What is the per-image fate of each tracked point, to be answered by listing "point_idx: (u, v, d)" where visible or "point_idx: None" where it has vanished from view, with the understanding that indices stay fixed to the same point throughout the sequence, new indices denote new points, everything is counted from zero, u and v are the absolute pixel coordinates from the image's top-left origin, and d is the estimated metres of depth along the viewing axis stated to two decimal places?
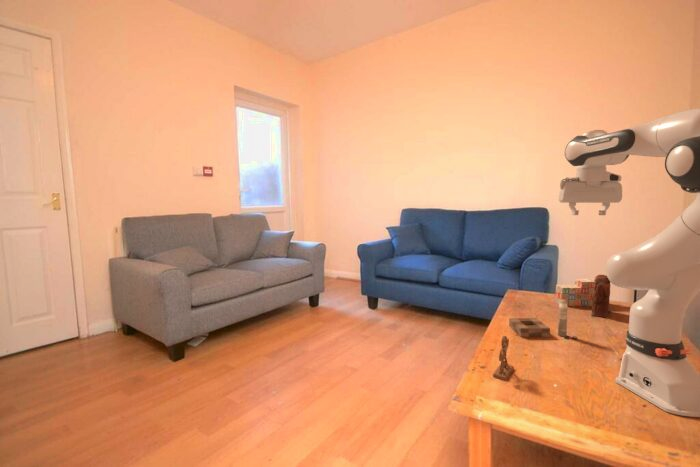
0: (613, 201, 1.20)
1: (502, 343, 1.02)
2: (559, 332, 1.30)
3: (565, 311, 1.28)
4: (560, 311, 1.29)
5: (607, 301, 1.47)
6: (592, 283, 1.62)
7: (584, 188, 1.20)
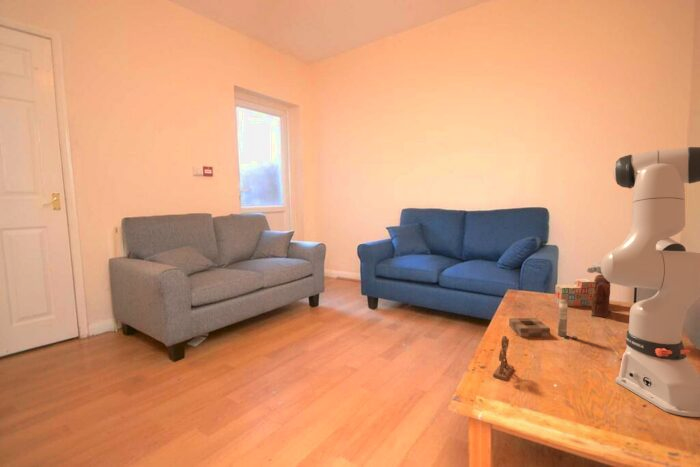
0: None
1: (502, 343, 1.02)
2: (559, 332, 1.30)
3: (565, 311, 1.28)
4: (560, 311, 1.29)
5: (607, 301, 1.47)
6: (592, 283, 1.62)
7: None
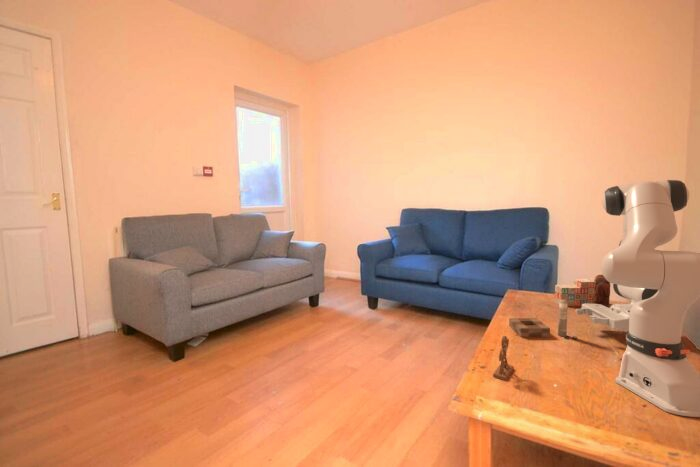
0: (611, 318, 1.22)
1: (502, 343, 1.02)
2: (559, 332, 1.30)
3: (565, 311, 1.28)
4: (560, 311, 1.29)
5: (607, 301, 1.47)
6: (591, 283, 1.62)
7: (605, 309, 1.31)
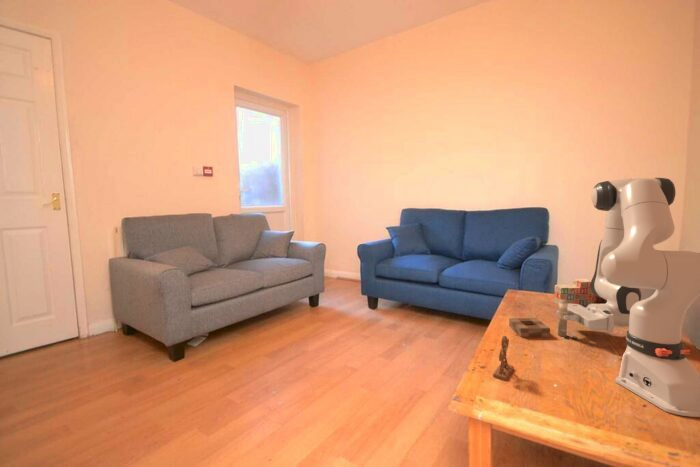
0: (586, 317, 1.22)
1: (502, 343, 1.02)
2: (559, 332, 1.30)
3: (565, 311, 1.28)
4: (560, 311, 1.29)
5: None
6: None
7: (581, 309, 1.32)
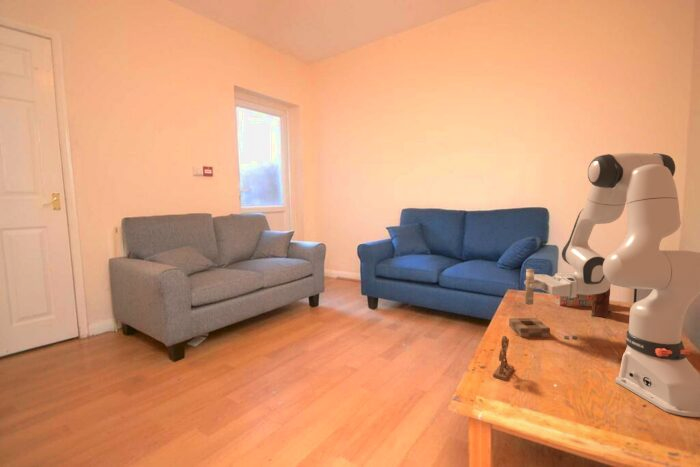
0: (550, 284, 1.26)
1: (502, 343, 1.02)
2: (526, 300, 1.34)
3: (531, 279, 1.32)
4: (527, 280, 1.33)
5: (607, 301, 1.47)
6: None
7: (548, 278, 1.36)
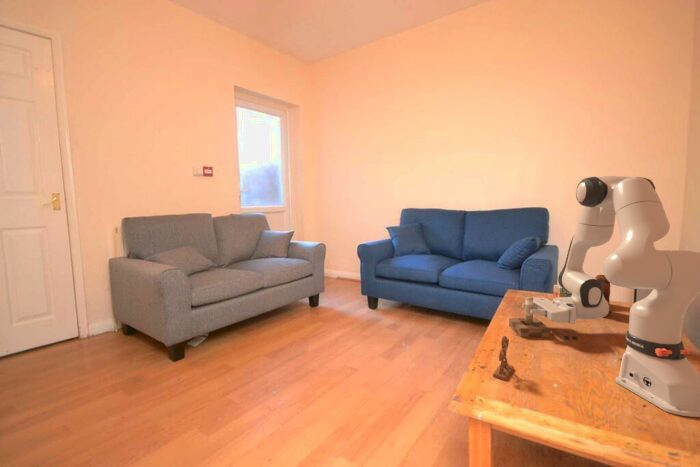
0: (549, 310, 1.27)
1: (502, 343, 1.02)
2: None
3: (531, 308, 1.33)
4: (526, 308, 1.34)
5: (607, 301, 1.47)
6: None
7: (548, 302, 1.37)
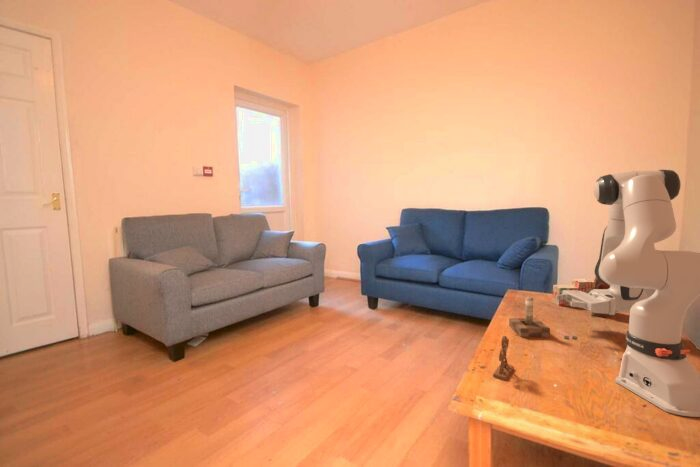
0: (588, 301, 1.25)
1: (502, 343, 1.02)
2: None
3: (531, 308, 1.33)
4: (526, 308, 1.34)
5: None
6: (589, 283, 1.62)
7: (584, 294, 1.35)
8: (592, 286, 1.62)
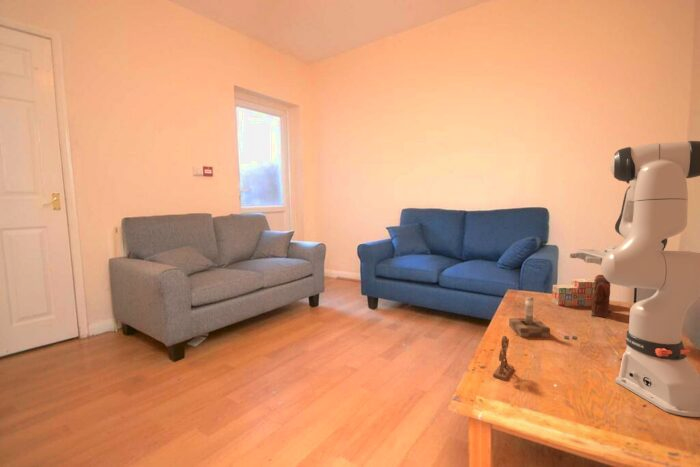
0: (604, 256, 1.23)
1: (502, 343, 1.02)
2: None
3: (531, 308, 1.33)
4: (526, 308, 1.34)
5: (607, 301, 1.47)
6: (589, 283, 1.62)
7: (598, 252, 1.33)
8: (592, 286, 1.62)
